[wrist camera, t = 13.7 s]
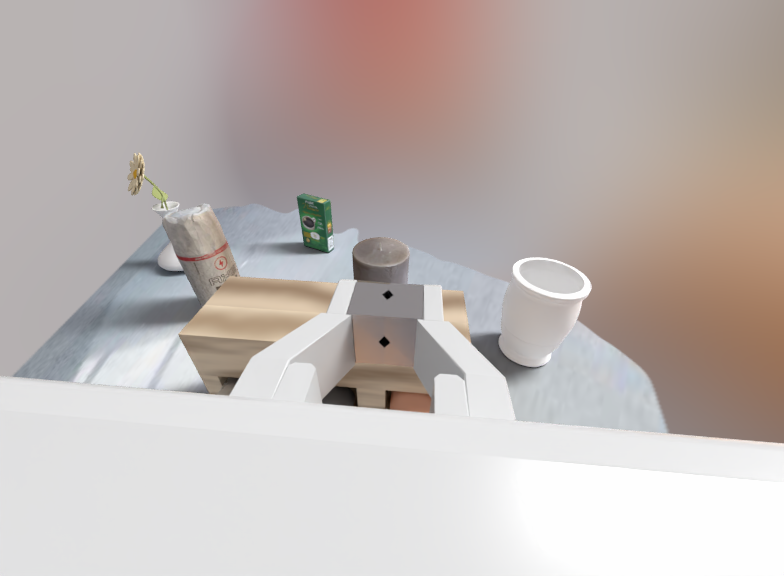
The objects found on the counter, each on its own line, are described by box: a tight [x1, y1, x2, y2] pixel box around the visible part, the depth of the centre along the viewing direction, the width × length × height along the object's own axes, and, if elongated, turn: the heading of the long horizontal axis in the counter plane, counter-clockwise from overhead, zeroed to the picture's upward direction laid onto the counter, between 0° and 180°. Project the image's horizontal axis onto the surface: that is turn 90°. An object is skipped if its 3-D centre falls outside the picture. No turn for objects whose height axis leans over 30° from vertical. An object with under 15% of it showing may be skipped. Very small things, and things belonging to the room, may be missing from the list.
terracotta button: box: [390, 391, 431, 413], centre depth 35 cm, size 5×5×5 cm
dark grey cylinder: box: [322, 386, 355, 406], centre depth 34 cm, size 5×5×5 cm
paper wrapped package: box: [162, 203, 240, 307], centre depth 56 cm, size 8×8×20 cm
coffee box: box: [297, 194, 334, 253], centre depth 78 cm, size 8×3×13 cm, turn 62°
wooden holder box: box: [178, 276, 471, 410], centre depth 39 cm, size 10×28×18 cm, turn 85°
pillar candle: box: [352, 237, 410, 284], centre depth 57 cm, size 10×10×15 cm
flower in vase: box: [128, 153, 183, 271], centre depth 67 cm, size 13×11×25 cm
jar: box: [499, 258, 591, 367], centre depth 50 cm, size 11×10×15 cm
